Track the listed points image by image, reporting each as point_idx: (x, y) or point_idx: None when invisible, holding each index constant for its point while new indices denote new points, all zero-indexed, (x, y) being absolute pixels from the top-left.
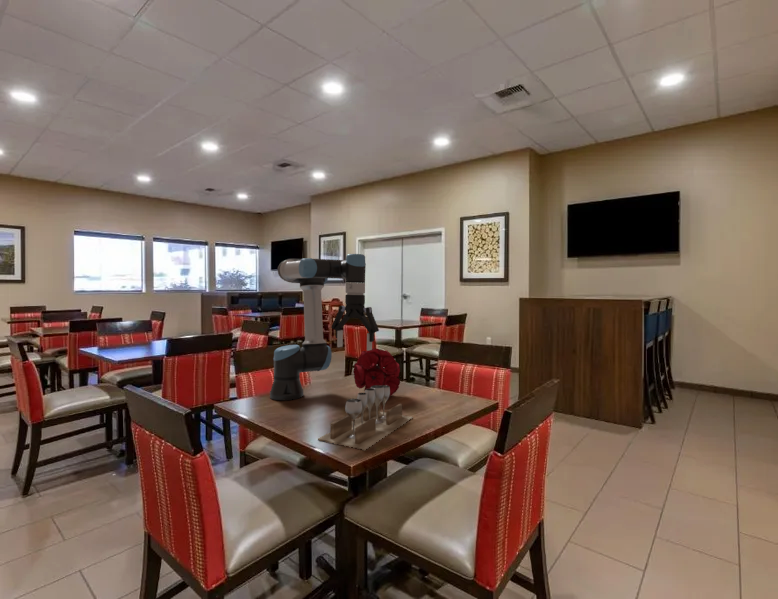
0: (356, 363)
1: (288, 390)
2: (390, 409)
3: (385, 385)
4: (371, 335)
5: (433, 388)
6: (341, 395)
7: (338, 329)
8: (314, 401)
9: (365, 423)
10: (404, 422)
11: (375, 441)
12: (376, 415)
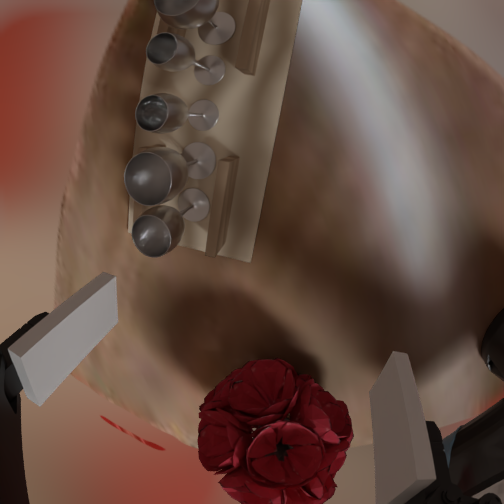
0: (339, 449)
1: None
2: None
3: (153, 256)
4: (11, 343)
5: (183, 441)
6: None
7: (424, 501)
8: (449, 315)
9: None
10: None
11: (154, 24)
12: (192, 162)
